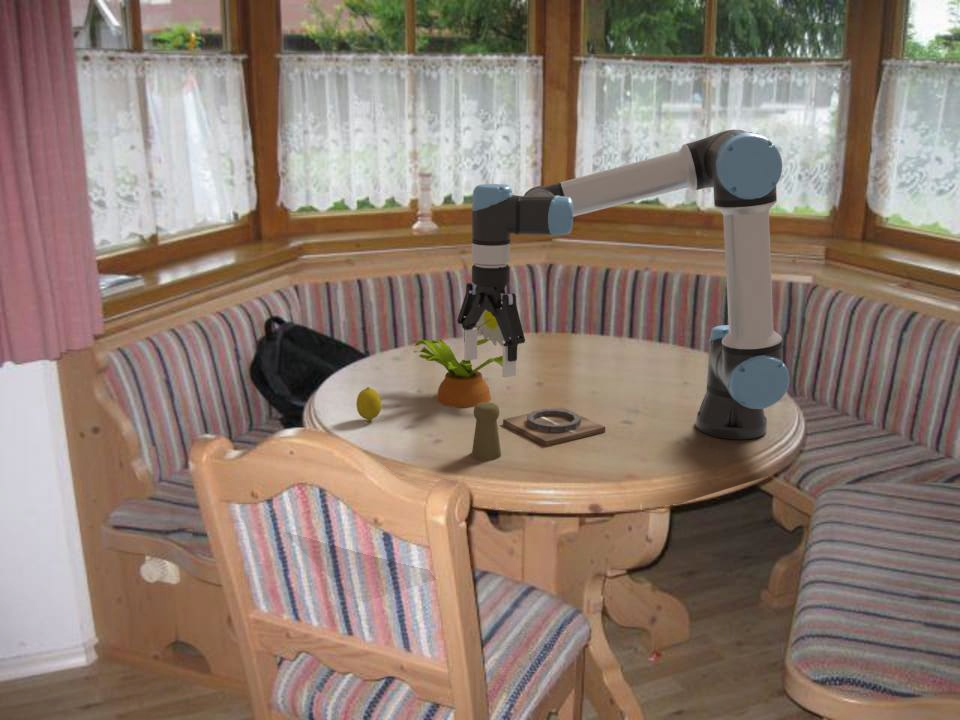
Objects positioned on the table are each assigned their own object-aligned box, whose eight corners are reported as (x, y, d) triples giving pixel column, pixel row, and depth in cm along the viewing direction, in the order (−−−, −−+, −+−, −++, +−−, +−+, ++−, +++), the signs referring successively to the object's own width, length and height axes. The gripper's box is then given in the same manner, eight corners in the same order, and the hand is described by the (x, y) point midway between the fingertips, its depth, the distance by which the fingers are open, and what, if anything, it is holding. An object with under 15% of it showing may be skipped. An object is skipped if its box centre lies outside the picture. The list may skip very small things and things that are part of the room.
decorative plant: (532, 400, 234) (534, 297, 227) (459, 424, 218) (458, 315, 211) (455, 376, 253) (455, 280, 246) (382, 396, 237) (379, 295, 230)
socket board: (605, 432, 214) (605, 421, 213) (546, 446, 205) (546, 435, 205) (560, 411, 226) (560, 401, 226) (503, 424, 218) (503, 413, 217)
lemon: (358, 426, 217) (356, 391, 215) (356, 417, 222) (355, 384, 220) (383, 424, 218) (382, 390, 216) (380, 416, 223) (379, 382, 221)
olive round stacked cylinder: (500, 449, 204) (500, 398, 201) (501, 460, 198) (502, 408, 195) (471, 449, 204) (471, 399, 201) (472, 460, 198) (471, 408, 195)
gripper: (545, 273, 185) (541, 380, 191) (471, 252, 205) (470, 350, 211) (512, 277, 181) (510, 386, 187) (441, 256, 201) (441, 355, 207)
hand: (489, 367), depth 199 cm, fingers open, 13 cm apart
